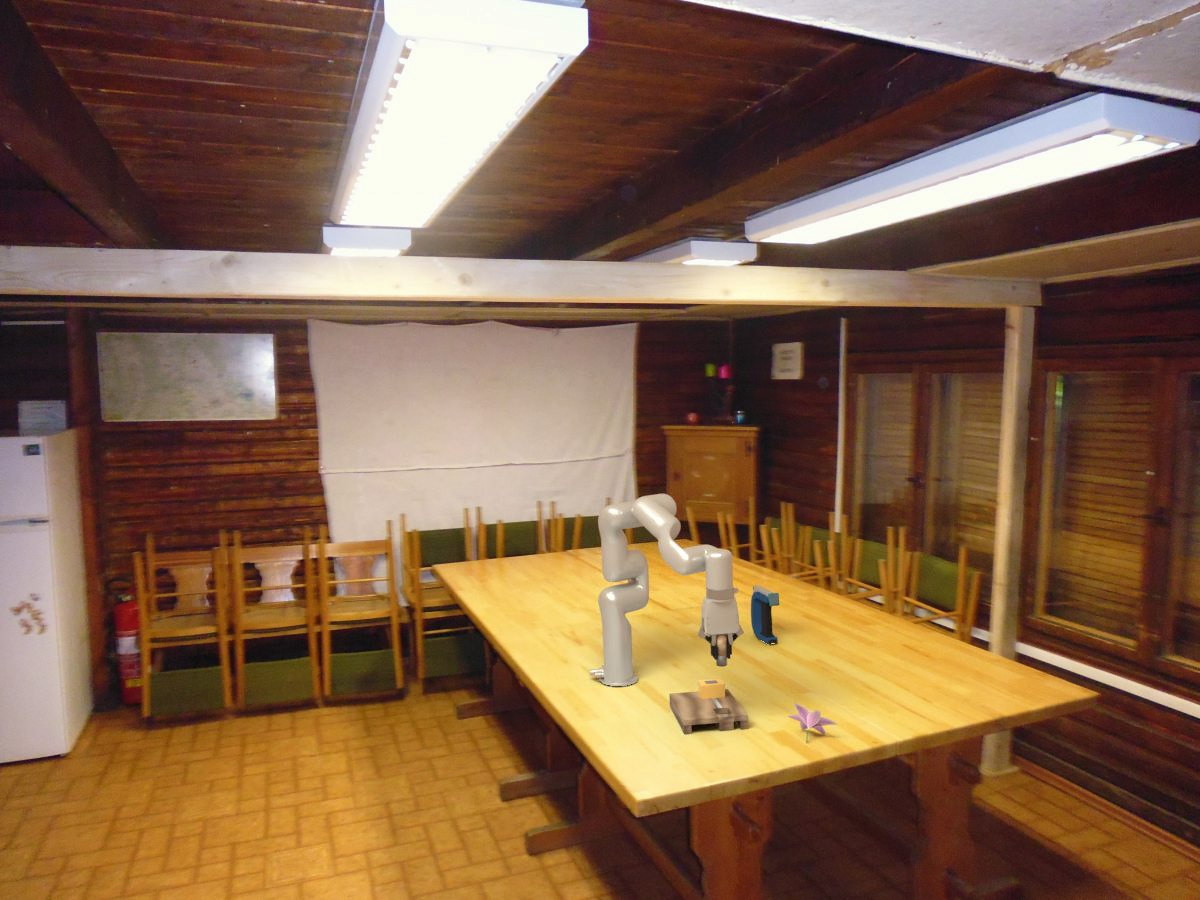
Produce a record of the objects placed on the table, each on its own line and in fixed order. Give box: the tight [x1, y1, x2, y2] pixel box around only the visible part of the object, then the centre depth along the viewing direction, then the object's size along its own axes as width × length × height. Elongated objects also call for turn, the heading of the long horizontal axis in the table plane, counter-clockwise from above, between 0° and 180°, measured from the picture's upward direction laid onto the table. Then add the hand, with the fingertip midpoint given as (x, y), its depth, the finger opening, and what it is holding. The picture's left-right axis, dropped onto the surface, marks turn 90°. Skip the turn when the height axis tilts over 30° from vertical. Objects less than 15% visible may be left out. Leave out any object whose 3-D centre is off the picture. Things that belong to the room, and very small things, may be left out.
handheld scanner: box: [750, 585, 780, 645], centre depth 304 cm, size 5×16×20 cm, turn 15°
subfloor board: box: [669, 688, 749, 735], centre depth 235 cm, size 18×20×4 cm
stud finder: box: [697, 678, 726, 699], centre depth 241 cm, size 7×4×4 cm, turn 97°
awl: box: [715, 634, 728, 668], centre depth 229 cm, size 3×3×9 cm
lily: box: [787, 702, 838, 744], centre depth 219 cm, size 12×12×10 cm
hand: (721, 657), depth 229 cm, fingers closed on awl, 3 cm apart
